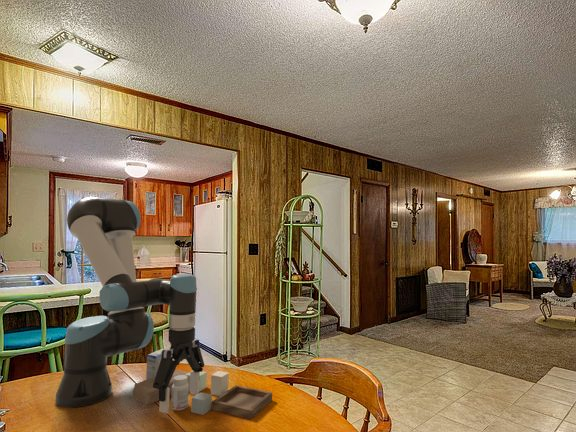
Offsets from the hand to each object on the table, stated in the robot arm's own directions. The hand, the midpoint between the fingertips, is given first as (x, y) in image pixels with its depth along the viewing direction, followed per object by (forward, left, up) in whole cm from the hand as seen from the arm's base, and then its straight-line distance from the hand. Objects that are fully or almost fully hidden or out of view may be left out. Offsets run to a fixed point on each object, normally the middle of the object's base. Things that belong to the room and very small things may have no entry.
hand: (179, 402), depth 105 cm
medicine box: (-22, +15, -2) cm, 27 cm away
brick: (-12, +6, -2) cm, 14 cm away
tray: (+16, +9, -1) cm, 18 cm away
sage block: (-4, +13, -1) cm, 13 cm away
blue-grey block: (+7, +1, -1) cm, 7 cm away
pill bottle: (0, 0, -1) cm, 1 cm away
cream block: (+5, +13, -1) cm, 14 cm away
